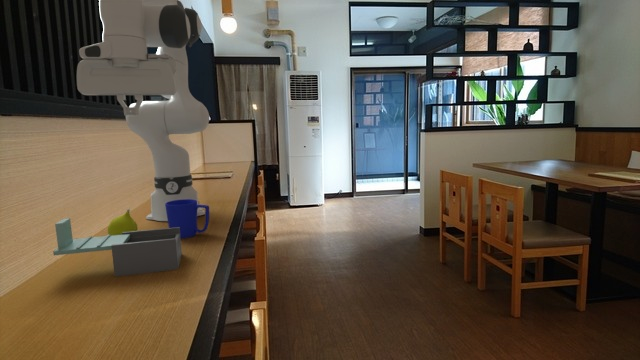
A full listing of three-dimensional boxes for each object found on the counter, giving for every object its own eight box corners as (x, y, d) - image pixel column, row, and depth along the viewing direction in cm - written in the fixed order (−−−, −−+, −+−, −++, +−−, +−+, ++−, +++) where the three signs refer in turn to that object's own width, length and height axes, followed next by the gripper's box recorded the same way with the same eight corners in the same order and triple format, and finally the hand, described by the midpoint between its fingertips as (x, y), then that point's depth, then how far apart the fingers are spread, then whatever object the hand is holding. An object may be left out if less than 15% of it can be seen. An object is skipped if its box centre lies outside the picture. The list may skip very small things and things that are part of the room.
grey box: (125, 262, 85) (122, 232, 84) (182, 256, 89) (179, 227, 88) (115, 279, 76) (111, 245, 75) (178, 272, 79) (175, 239, 78)
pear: (143, 240, 102) (140, 204, 101) (117, 248, 97) (113, 209, 95) (130, 236, 106) (126, 202, 105) (104, 243, 101) (100, 206, 99)
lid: (69, 243, 81) (65, 216, 80) (130, 237, 84) (127, 212, 83) (53, 255, 73) (49, 226, 72) (121, 248, 76) (119, 220, 75)
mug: (202, 243, 99) (200, 205, 97) (161, 241, 101) (158, 204, 100) (217, 234, 107) (215, 199, 105) (178, 232, 109) (176, 198, 108)
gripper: (176, 57, 91) (180, 115, 93) (80, 54, 85) (87, 116, 87) (173, 51, 85) (178, 114, 87) (70, 48, 79) (77, 115, 81)
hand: (131, 115), depth 87 cm, fingers closed
